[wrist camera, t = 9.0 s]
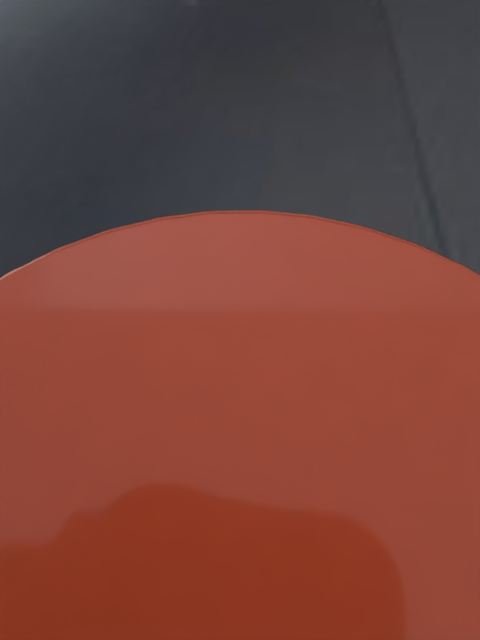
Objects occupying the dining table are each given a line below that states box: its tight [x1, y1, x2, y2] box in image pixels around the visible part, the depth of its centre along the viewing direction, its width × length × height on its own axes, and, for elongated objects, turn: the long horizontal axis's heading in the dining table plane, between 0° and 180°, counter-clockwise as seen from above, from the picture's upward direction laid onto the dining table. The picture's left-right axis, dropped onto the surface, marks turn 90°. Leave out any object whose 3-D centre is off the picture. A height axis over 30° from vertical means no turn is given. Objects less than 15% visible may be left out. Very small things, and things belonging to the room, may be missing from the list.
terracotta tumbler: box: [0, 210, 480, 640], centre depth 9 cm, size 6×6×13 cm
